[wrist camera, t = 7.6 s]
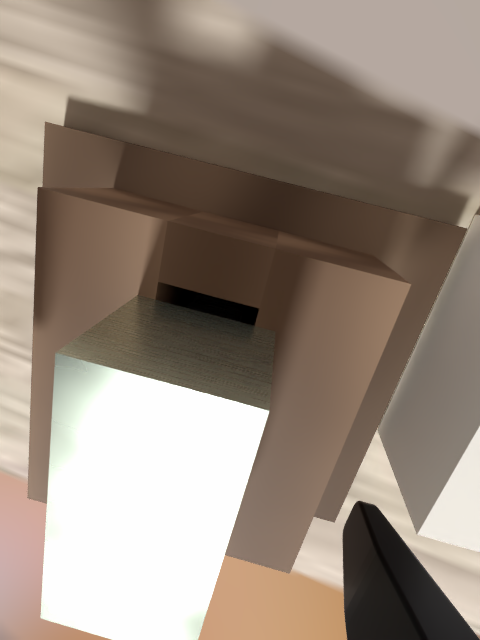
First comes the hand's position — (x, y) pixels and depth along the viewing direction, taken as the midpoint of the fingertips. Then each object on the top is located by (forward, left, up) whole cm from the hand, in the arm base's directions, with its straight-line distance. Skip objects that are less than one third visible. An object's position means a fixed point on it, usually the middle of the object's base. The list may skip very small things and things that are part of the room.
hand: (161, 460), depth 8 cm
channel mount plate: (0, 0, -7) cm, 7 cm away
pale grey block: (0, +1, -6) cm, 6 cm away
